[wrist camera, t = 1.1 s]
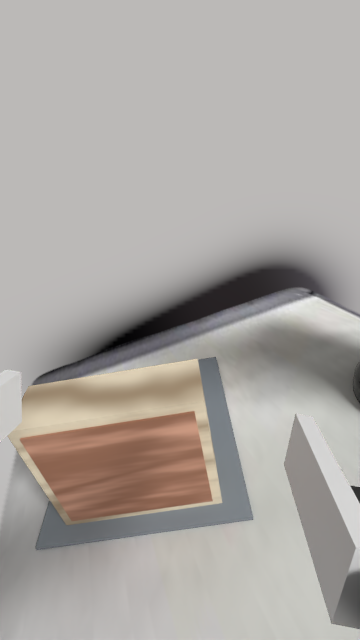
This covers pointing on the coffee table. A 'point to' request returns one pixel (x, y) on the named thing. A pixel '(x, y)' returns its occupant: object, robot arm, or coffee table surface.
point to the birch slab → (120, 443)
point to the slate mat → (228, 511)
